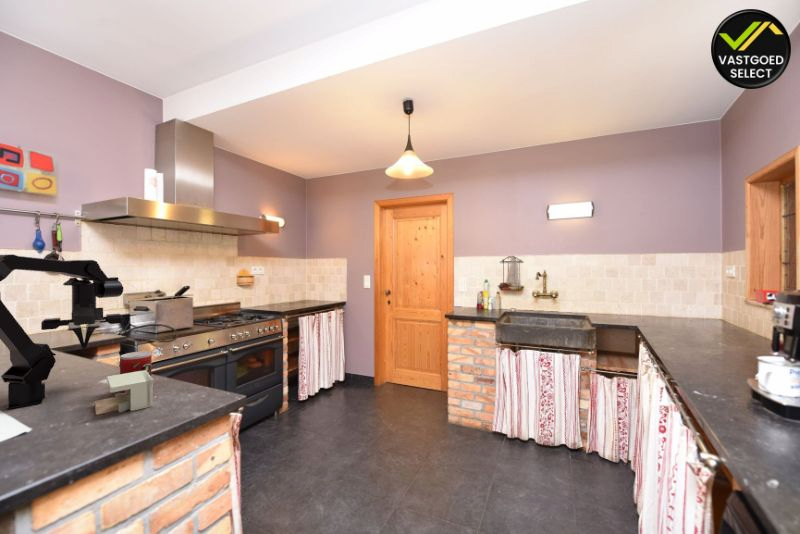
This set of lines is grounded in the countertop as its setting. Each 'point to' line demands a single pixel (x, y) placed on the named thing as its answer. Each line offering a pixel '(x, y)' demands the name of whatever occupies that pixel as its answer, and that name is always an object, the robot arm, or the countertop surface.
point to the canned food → (136, 363)
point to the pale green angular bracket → (133, 389)
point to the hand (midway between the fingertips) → (84, 348)
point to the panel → (110, 404)
